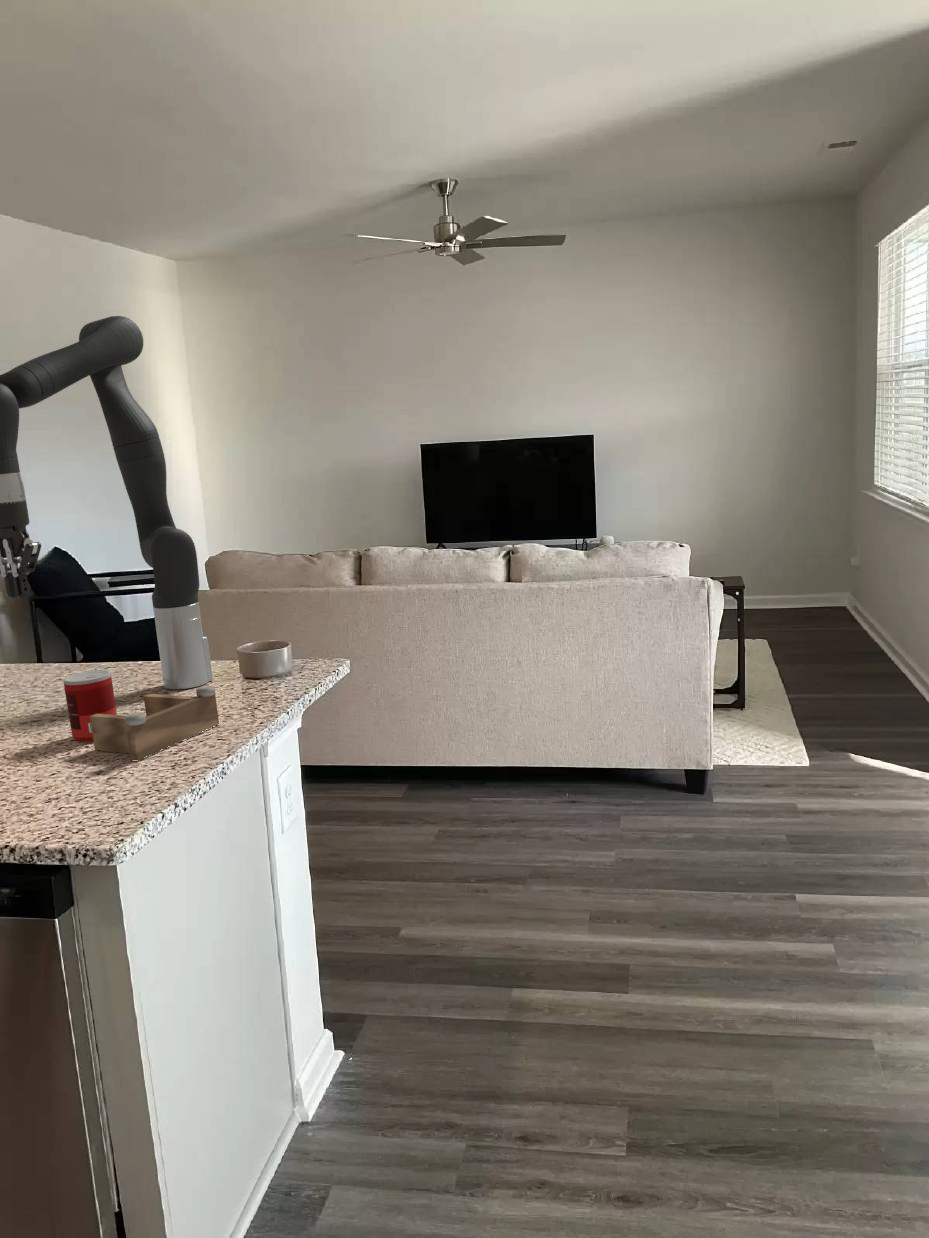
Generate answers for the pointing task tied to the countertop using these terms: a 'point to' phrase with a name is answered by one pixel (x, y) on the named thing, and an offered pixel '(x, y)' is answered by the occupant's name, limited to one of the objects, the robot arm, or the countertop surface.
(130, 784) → the countertop surface
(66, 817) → the countertop surface
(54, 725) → the countertop surface
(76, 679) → the canned food
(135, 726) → the bracket
